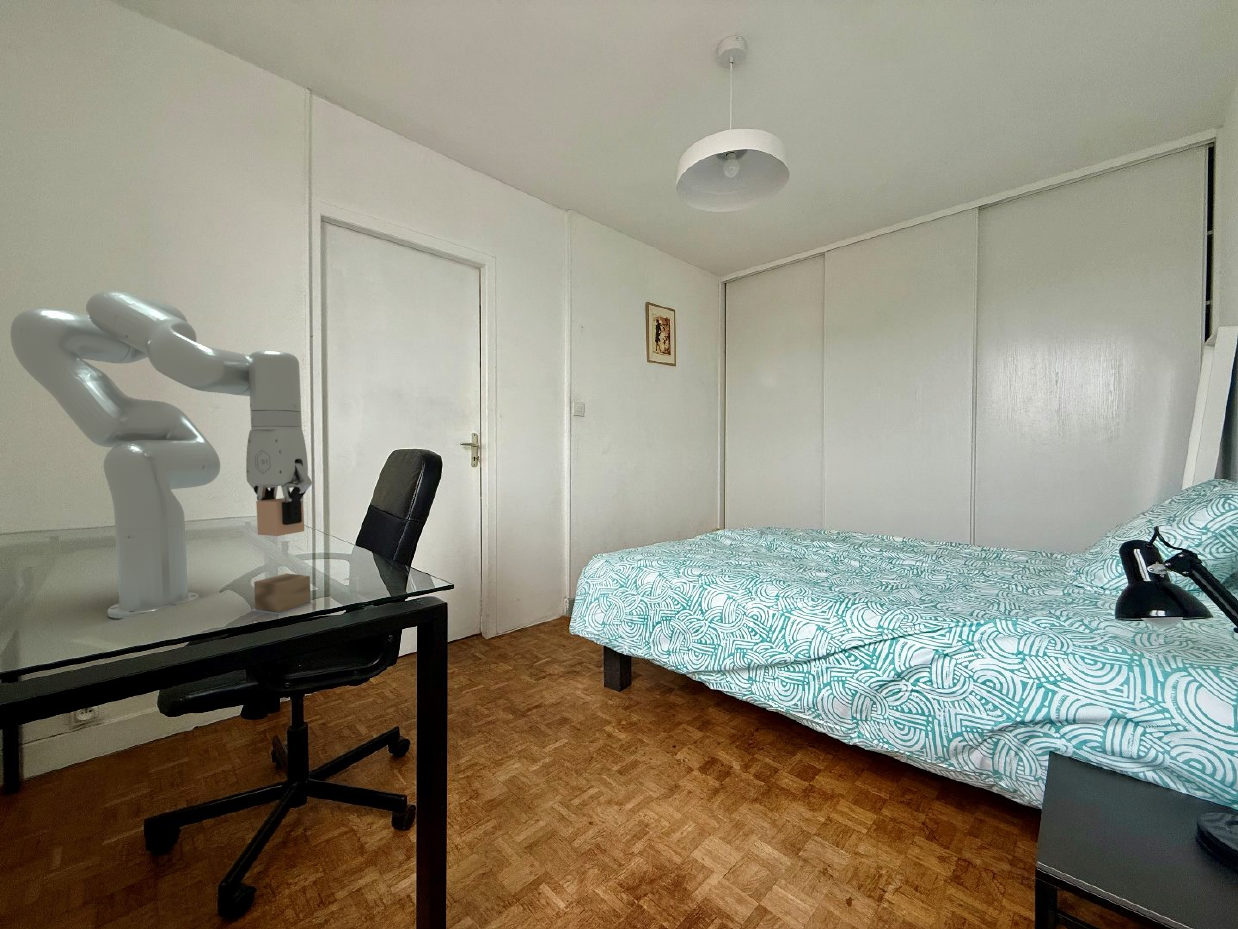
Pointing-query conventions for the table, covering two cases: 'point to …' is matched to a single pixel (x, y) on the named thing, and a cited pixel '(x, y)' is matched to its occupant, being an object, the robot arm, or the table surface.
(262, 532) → the terracotta block
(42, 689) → the table surface
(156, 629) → the table surface
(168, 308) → the robot arm
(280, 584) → the walnut block
